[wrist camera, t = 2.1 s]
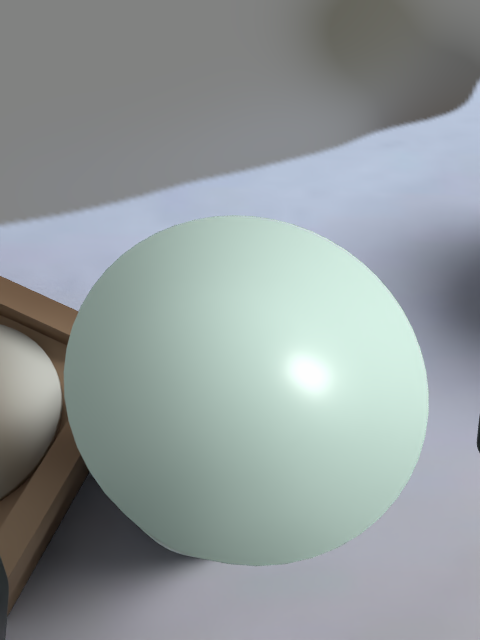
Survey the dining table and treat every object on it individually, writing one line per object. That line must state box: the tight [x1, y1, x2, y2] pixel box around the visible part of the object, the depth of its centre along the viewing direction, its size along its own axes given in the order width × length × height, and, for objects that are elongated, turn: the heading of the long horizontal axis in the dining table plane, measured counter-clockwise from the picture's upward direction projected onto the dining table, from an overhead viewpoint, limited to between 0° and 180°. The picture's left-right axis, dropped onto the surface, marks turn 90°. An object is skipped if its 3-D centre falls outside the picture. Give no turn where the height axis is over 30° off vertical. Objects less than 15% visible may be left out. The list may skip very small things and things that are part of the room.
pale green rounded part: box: [64, 216, 428, 566], centre depth 13 cm, size 6×6×12 cm
